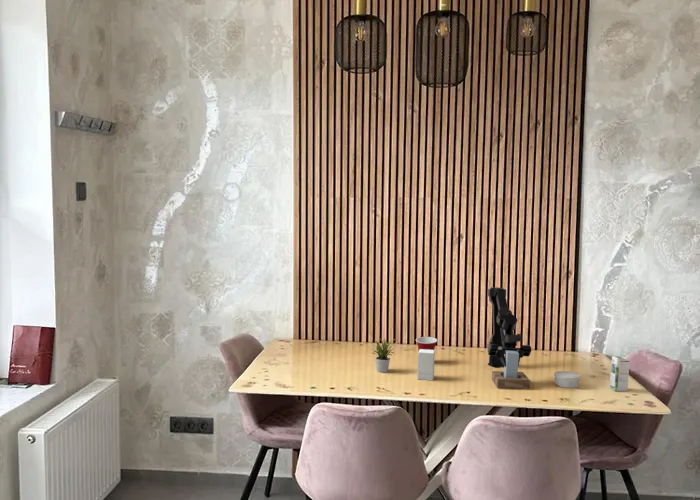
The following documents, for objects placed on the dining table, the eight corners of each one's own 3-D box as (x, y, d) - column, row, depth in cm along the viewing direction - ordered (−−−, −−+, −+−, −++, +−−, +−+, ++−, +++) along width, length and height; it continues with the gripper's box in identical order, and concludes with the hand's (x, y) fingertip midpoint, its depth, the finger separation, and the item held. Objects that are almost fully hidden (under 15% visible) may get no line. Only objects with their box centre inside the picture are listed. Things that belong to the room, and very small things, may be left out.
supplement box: (433, 380, 306) (433, 353, 305) (416, 379, 308) (417, 352, 307) (434, 376, 314) (435, 349, 313) (418, 375, 315) (419, 348, 314)
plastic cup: (412, 363, 336) (413, 340, 335) (418, 358, 346) (419, 335, 345) (433, 366, 332) (434, 342, 331) (439, 361, 342) (439, 338, 341)
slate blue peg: (503, 378, 305) (505, 350, 304) (514, 379, 305) (516, 351, 304) (505, 381, 300) (507, 353, 299) (516, 382, 300) (519, 353, 299)
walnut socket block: (491, 379, 310) (492, 371, 310) (522, 380, 310) (522, 371, 309) (497, 388, 296) (498, 379, 296) (529, 389, 296) (530, 380, 295)
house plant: (404, 369, 324) (405, 336, 323) (393, 376, 312) (394, 341, 310) (377, 366, 330) (377, 333, 329) (365, 372, 318) (366, 338, 316)
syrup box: (609, 387, 300) (610, 355, 299) (621, 387, 301) (623, 355, 300) (615, 391, 295) (617, 359, 293) (628, 391, 295) (630, 359, 294)
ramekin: (566, 390, 296) (567, 378, 295) (548, 383, 305) (548, 372, 305) (585, 387, 301) (585, 375, 300) (566, 381, 311) (566, 369, 310)
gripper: (490, 326, 305) (493, 356, 295) (531, 327, 304) (536, 357, 294) (486, 339, 313) (489, 369, 303) (526, 341, 313) (531, 370, 303)
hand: (511, 366), depth 301 cm, fingers closed on slate blue peg, 5 cm apart
